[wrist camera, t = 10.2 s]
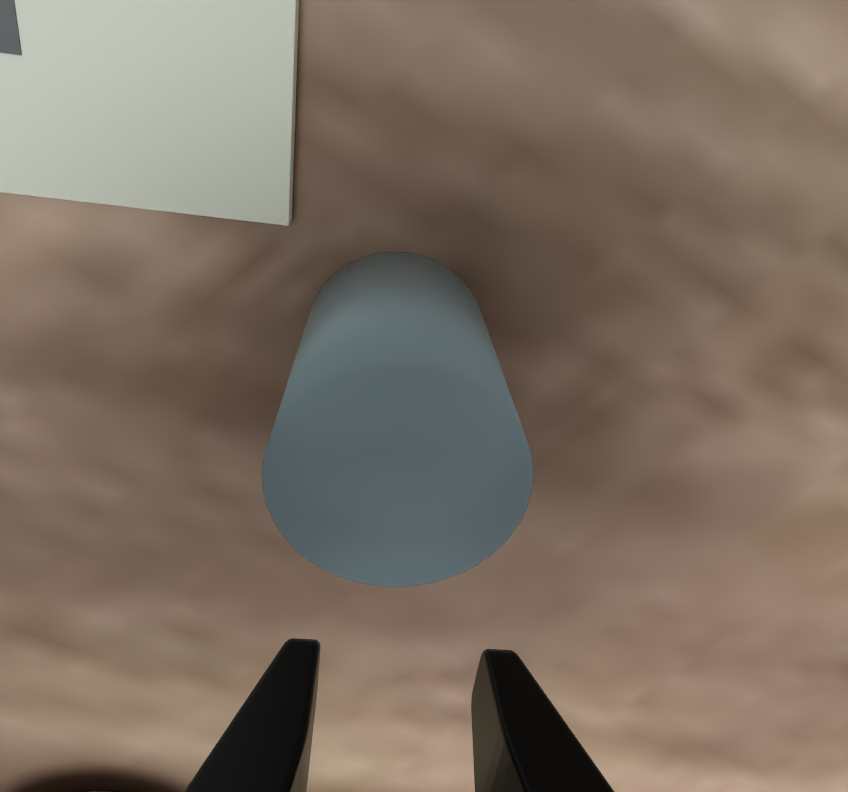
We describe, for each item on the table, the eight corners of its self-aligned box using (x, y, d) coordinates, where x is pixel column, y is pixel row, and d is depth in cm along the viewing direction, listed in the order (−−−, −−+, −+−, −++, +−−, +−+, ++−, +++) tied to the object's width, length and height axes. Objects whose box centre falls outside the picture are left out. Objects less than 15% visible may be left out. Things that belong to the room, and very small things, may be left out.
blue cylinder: (469, 424, 20) (506, 594, 13) (302, 409, 19) (260, 578, 13) (499, 263, 17) (559, 378, 11) (310, 241, 17) (264, 349, 11)
